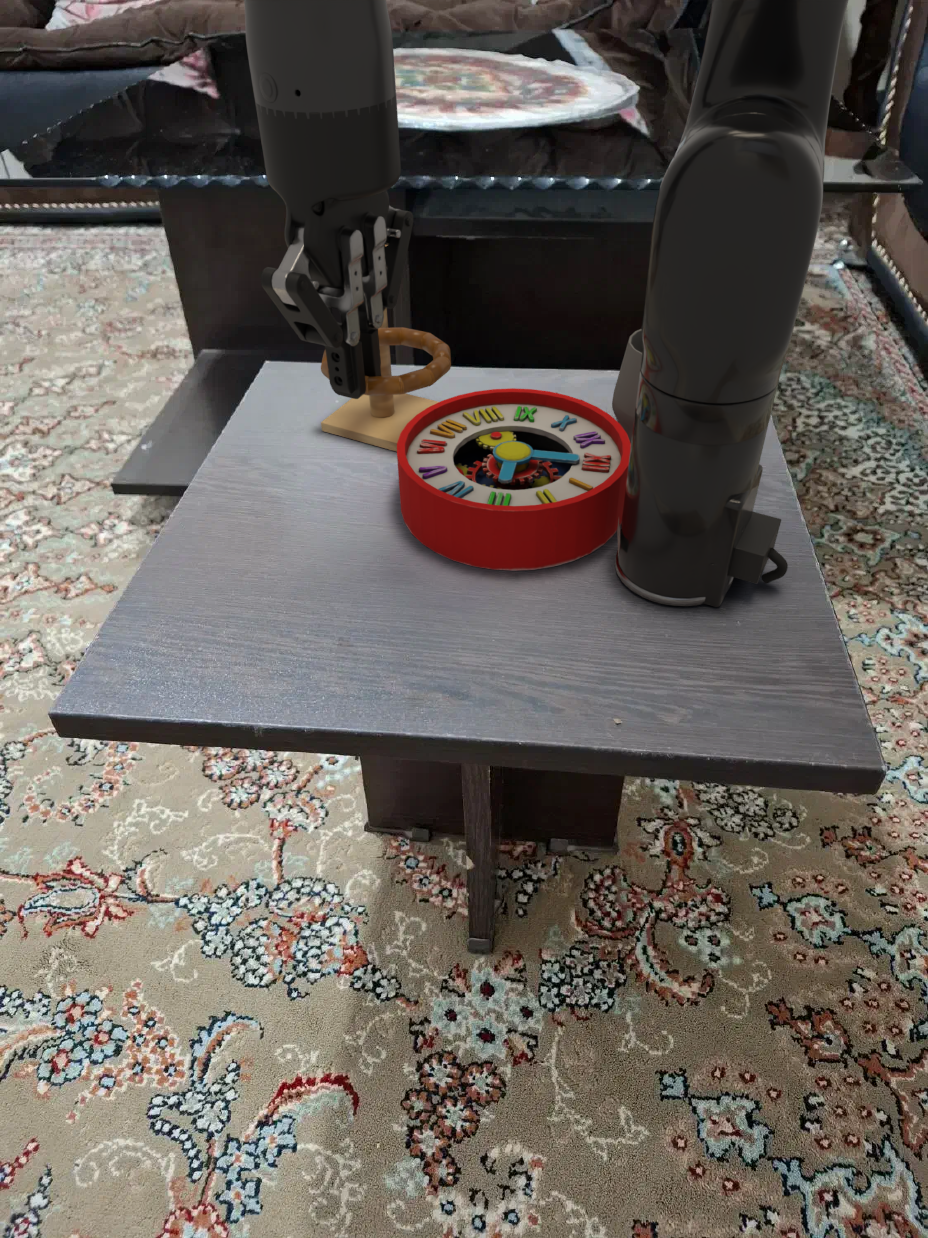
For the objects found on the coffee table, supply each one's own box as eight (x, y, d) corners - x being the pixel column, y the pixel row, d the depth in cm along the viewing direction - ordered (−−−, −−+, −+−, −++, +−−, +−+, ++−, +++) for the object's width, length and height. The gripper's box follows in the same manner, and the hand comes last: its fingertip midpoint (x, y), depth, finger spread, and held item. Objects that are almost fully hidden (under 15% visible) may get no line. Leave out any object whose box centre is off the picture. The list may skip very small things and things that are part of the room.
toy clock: (426, 380, 85) (638, 397, 82) (429, 434, 89) (631, 452, 86) (368, 497, 71) (623, 523, 67) (374, 556, 75) (615, 583, 71)
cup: (697, 415, 91) (713, 320, 84) (714, 464, 84) (733, 365, 78) (603, 415, 91) (612, 320, 85) (613, 464, 84) (624, 365, 78)
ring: (473, 355, 63) (473, 338, 62) (408, 409, 57) (407, 392, 56) (368, 332, 66) (366, 316, 65) (297, 381, 60) (294, 364, 60)
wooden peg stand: (443, 411, 93) (439, 296, 85) (398, 452, 87) (389, 333, 79) (370, 392, 96) (359, 281, 88) (321, 431, 90) (305, 315, 82)
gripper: (309, 125, 42) (349, 450, 53) (447, 68, 51) (456, 357, 62) (184, 111, 44) (248, 422, 56) (337, 59, 53) (364, 337, 65)
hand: (357, 387), depth 59 cm, fingers closed on ring, 1 cm apart
